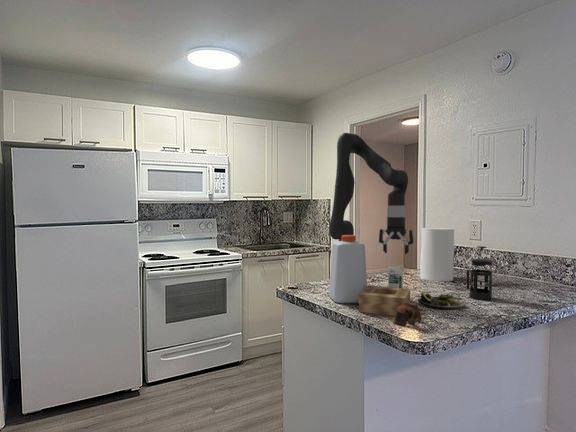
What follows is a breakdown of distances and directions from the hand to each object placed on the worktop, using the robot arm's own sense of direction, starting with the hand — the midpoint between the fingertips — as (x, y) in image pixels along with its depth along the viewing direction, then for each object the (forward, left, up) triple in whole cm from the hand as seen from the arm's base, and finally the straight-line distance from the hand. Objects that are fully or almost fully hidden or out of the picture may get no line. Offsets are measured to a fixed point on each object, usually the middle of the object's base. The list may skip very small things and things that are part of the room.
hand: (395, 253), depth 174 cm
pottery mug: (+9, -33, -21) cm, 40 cm away
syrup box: (0, 0, -21) cm, 21 cm away
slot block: (-2, -17, -20) cm, 26 cm away
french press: (+34, +19, -21) cm, 44 cm away
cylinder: (+14, +59, -21) cm, 64 cm away
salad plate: (+18, 0, -21) cm, 27 cm away
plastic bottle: (-19, -8, -21) cm, 29 cm away
